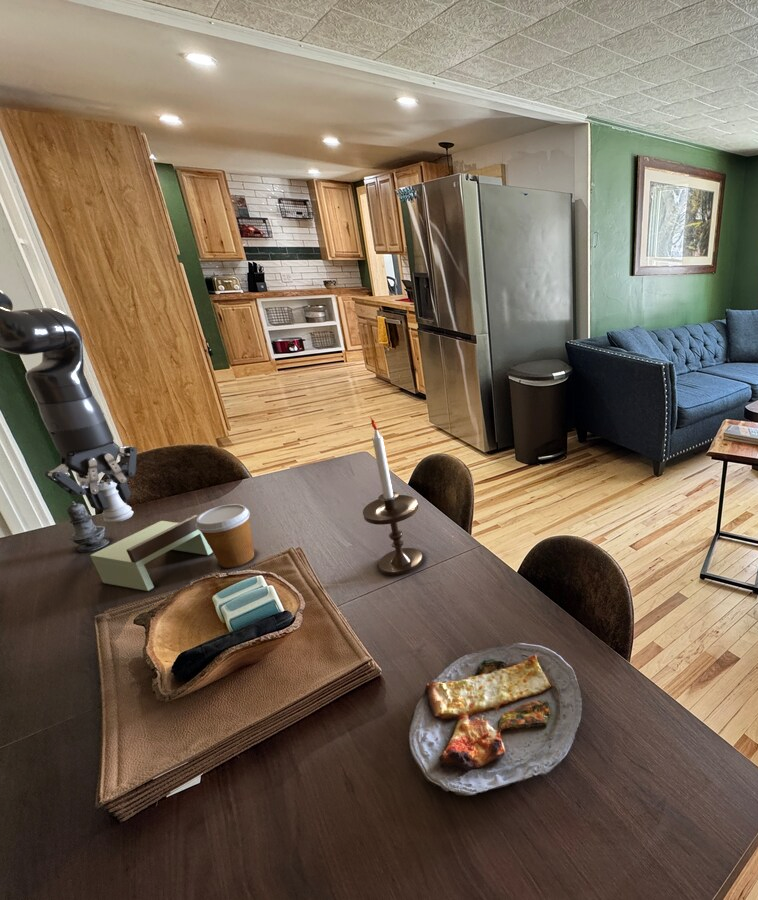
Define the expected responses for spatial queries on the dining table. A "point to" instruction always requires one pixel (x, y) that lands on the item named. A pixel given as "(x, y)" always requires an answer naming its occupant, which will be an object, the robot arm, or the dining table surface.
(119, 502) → the rook chess piece
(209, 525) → the disposable coffee cup
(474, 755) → the food plate
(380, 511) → the candlestick
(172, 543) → the shelf
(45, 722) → the dining table surface
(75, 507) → the grey upright piece
